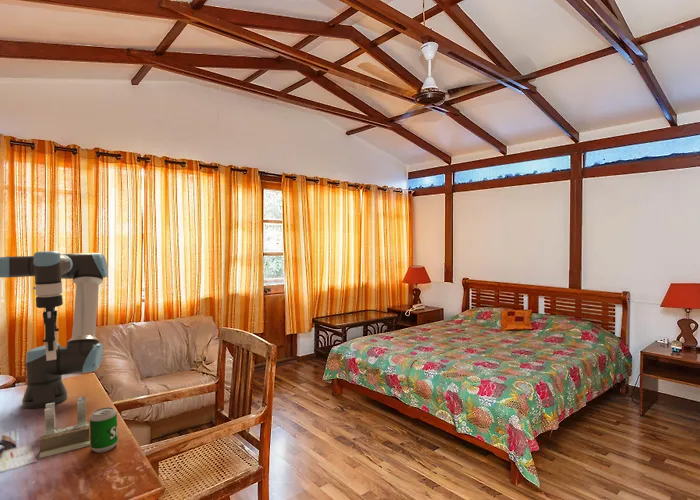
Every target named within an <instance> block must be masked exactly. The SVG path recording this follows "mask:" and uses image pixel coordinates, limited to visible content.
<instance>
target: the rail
mask: <svg viewBox="0 0 700 500" xmlns="http://www.w3.org/2000/svg"><path fill="white" fill-rule="evenodd" d="M89 440H90V424H89V425H88V426H84V427H79V428H75V429H71V430H66V431H62V432H57V433H53V434H49V435H44V434H43V435H41V436H39V453H40V452H44V451H48V450H53V449H57V448H61V447H65V446H69V445H73V444H77V443H81V442H85V441H89Z"/></svg>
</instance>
